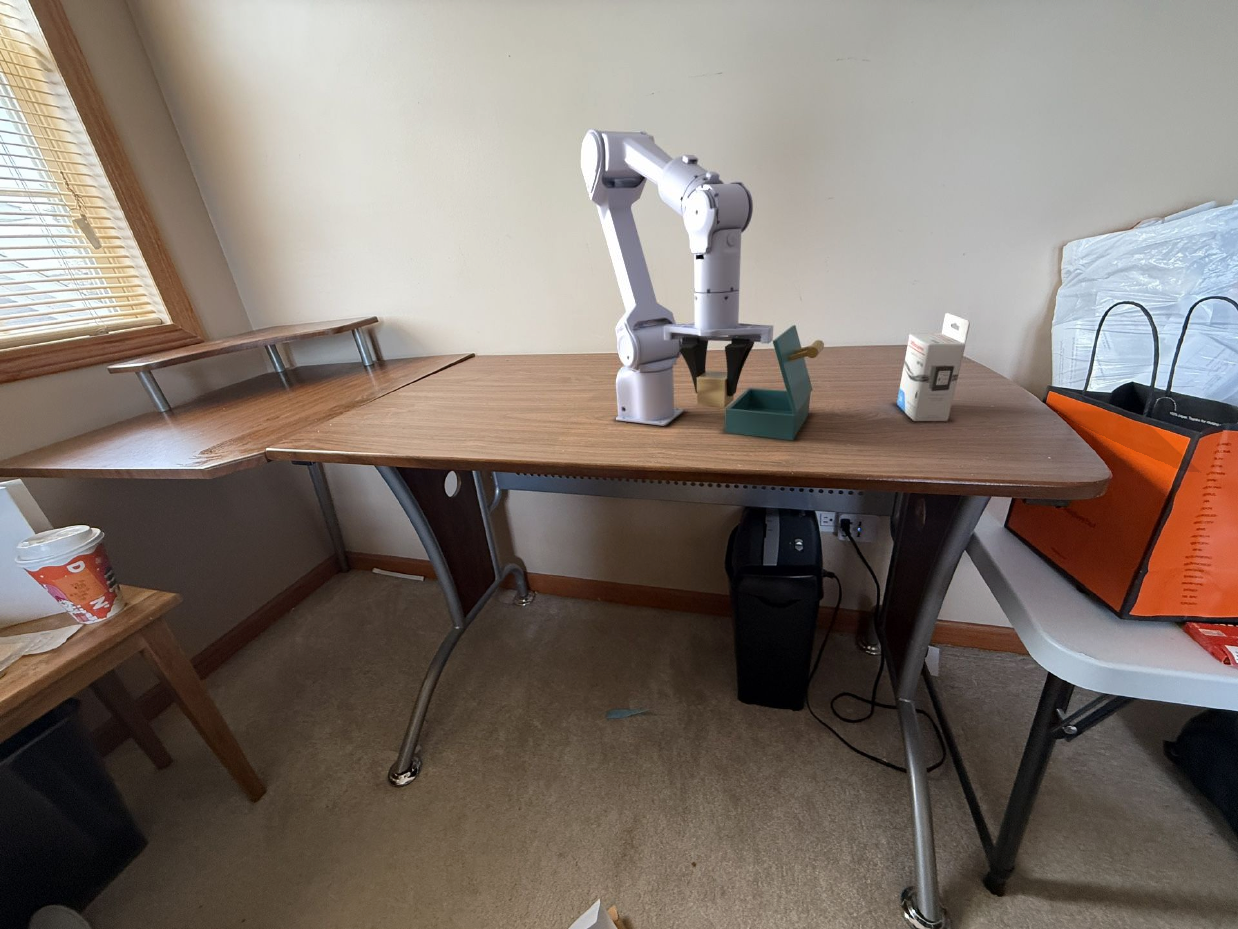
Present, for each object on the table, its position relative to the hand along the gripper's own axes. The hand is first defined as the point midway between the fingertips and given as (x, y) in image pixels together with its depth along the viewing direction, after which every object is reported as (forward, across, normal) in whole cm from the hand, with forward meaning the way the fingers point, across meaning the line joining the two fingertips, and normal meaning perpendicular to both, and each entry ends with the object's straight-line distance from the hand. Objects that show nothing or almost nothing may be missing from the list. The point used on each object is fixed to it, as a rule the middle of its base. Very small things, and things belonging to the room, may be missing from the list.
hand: (715, 392), depth 67 cm
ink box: (+8, +26, +23) cm, 36 cm away
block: (+1, 0, 0) cm, 1 cm away
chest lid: (-1, +8, +11) cm, 14 cm away
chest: (+8, +5, +11) cm, 15 cm away
